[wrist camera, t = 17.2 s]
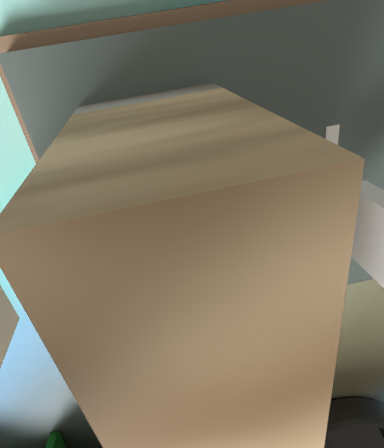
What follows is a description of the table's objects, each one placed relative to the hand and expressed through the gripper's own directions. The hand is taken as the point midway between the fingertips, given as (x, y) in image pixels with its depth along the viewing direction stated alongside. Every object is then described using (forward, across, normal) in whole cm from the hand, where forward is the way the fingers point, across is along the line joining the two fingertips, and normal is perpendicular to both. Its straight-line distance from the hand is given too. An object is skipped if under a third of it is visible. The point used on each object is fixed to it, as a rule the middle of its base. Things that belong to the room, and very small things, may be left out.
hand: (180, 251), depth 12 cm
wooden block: (+3, 0, 0) cm, 3 cm away
